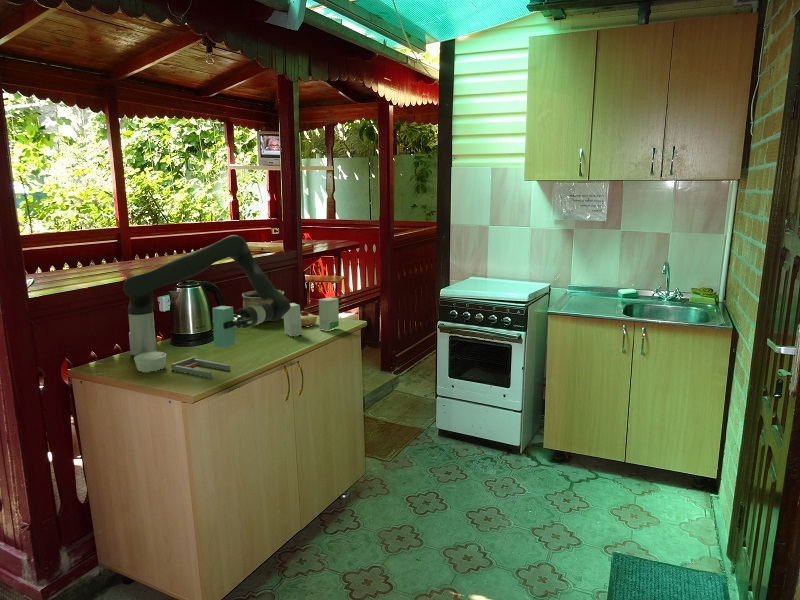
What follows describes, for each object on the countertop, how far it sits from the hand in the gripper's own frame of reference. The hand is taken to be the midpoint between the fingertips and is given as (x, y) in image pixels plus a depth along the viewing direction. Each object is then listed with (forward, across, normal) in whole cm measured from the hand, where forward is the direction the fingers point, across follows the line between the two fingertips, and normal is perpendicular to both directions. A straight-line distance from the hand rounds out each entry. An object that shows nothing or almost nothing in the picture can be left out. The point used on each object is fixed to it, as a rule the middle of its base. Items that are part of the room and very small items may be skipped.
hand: (218, 325), depth 187 cm
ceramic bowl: (-79, -46, +20) cm, 94 cm away
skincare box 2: (-77, -4, +20) cm, 80 cm away
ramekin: (+4, -31, +20) cm, 37 cm away
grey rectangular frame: (-3, -12, +20) cm, 23 cm away
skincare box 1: (-61, -14, +20) cm, 66 cm away
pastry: (-79, -20, +20) cm, 84 cm away
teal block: (-3, 0, +8) cm, 9 cm away
